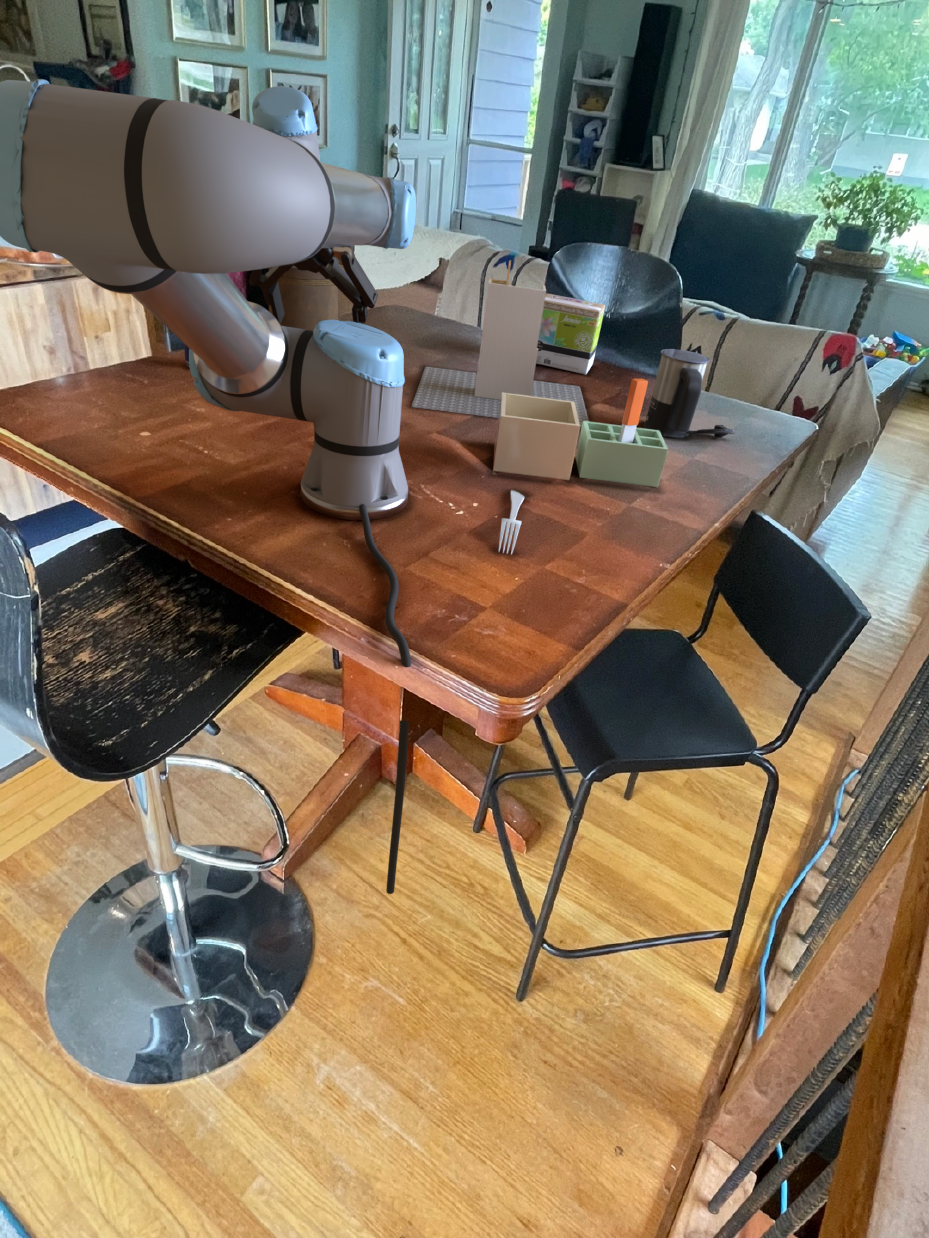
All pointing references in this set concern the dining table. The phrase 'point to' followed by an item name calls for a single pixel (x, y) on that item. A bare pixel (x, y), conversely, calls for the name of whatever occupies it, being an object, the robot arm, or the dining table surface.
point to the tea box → (569, 333)
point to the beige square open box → (535, 436)
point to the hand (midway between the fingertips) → (319, 326)
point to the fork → (511, 521)
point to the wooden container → (306, 298)
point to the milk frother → (678, 395)
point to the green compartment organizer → (620, 455)
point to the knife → (633, 410)
